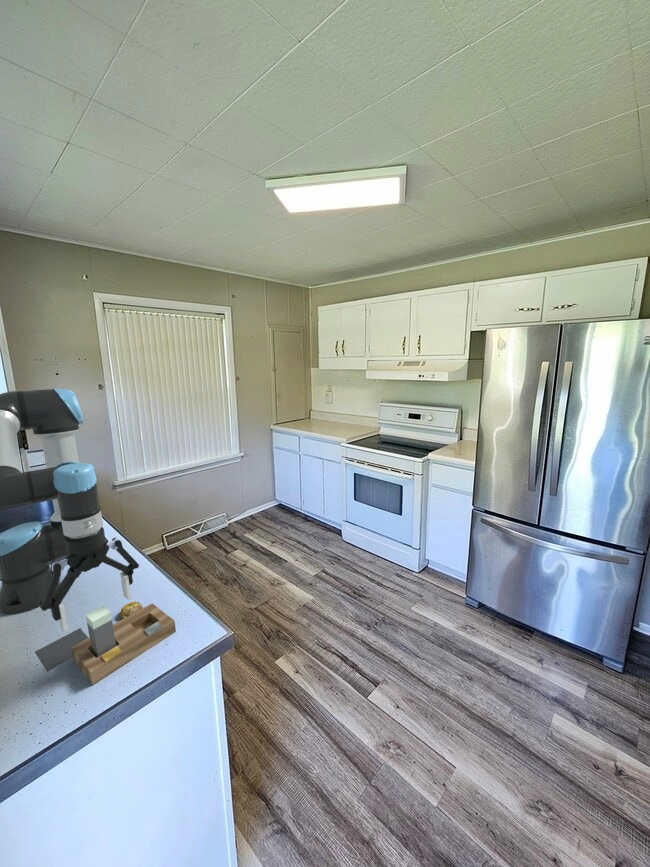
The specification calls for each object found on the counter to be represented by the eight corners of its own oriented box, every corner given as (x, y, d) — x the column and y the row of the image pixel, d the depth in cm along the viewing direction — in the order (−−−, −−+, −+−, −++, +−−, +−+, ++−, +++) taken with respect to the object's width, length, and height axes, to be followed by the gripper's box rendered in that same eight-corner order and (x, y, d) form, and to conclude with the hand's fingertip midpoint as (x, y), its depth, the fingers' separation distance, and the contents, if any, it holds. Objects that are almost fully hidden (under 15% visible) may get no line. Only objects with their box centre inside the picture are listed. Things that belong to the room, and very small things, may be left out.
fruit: (124, 632, 96) (123, 620, 95) (112, 619, 101) (110, 608, 101) (154, 615, 103) (153, 604, 102) (141, 604, 108) (140, 593, 107)
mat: (35, 653, 89) (34, 651, 89) (80, 629, 97) (80, 628, 97) (47, 673, 83) (47, 671, 83) (94, 646, 91) (94, 644, 91)
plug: (93, 658, 86) (85, 615, 84) (110, 647, 90) (103, 605, 87) (99, 666, 84) (92, 622, 82) (117, 655, 87) (110, 612, 85)
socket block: (73, 661, 87) (71, 646, 86) (153, 615, 102) (152, 602, 101) (93, 687, 80) (90, 671, 79) (176, 633, 95) (174, 619, 94)
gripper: (18, 561, 68) (38, 653, 73) (147, 516, 88) (156, 591, 92) (8, 549, 73) (28, 637, 77) (133, 508, 92) (142, 580, 97)
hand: (97, 612), depth 85 cm, fingers open, 13 cm apart
